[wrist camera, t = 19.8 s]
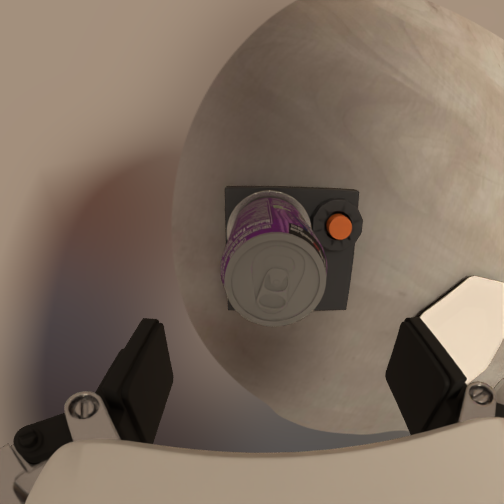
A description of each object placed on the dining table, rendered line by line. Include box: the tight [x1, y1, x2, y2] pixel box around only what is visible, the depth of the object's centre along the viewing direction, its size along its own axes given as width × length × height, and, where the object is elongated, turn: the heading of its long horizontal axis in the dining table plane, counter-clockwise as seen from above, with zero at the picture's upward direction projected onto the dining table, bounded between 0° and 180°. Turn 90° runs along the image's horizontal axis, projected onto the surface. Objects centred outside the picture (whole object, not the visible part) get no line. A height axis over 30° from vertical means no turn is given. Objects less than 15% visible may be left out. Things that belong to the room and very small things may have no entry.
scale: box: [225, 186, 363, 311], centre depth 32 cm, size 14×14×3 cm
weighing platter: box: [227, 190, 312, 240], centre depth 29 cm, size 8×8×1 cm
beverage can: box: [221, 198, 327, 327], centre depth 23 cm, size 7×7×12 cm
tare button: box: [326, 214, 352, 240], centre depth 29 cm, size 2×2×1 cm
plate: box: [419, 275, 504, 384], centre depth 36 cm, size 24×24×2 cm
